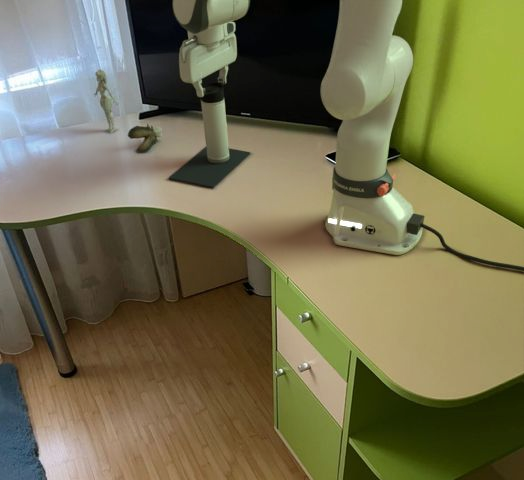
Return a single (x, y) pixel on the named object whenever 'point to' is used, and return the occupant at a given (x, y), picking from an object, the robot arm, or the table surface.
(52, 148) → the table surface
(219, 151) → the travel mug
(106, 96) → the human figurine
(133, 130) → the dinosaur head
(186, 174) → the desk pad
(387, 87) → the robot arm
